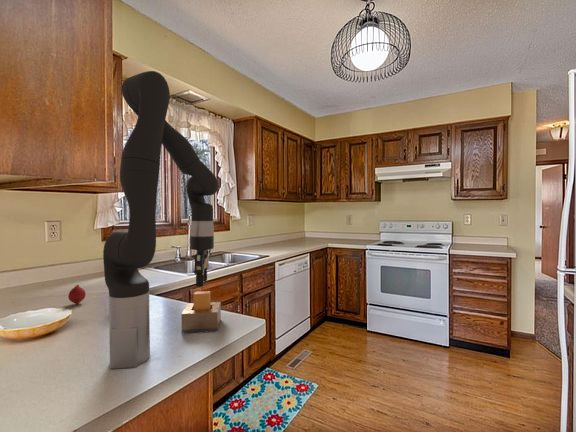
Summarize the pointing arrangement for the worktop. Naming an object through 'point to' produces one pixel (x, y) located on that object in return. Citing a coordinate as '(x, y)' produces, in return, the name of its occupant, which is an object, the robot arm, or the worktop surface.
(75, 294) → the onion
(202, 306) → the orange stepped block
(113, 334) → the robot arm
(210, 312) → the base
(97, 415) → the worktop surface
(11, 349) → the worktop surface
